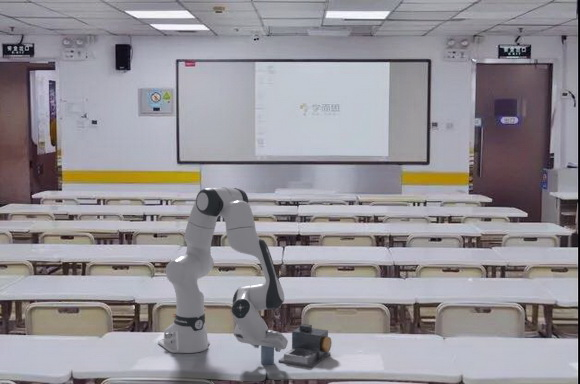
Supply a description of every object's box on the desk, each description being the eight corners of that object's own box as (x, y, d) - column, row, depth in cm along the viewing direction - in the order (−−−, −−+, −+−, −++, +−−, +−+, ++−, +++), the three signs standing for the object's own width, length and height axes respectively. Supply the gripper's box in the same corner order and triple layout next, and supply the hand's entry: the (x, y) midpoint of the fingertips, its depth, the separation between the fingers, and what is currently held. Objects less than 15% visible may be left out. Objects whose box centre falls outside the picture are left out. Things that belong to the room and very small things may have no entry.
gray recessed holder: (278, 362, 289) (278, 332, 287) (298, 349, 305) (299, 320, 303) (313, 368, 282) (314, 337, 281) (332, 354, 298) (333, 325, 297)
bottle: (258, 362, 288) (258, 332, 286) (268, 359, 291) (268, 329, 290) (266, 366, 284) (267, 335, 283) (276, 363, 287) (276, 332, 286)
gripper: (283, 326, 274) (294, 344, 284) (235, 319, 284) (248, 337, 293) (277, 341, 271) (289, 359, 281) (229, 333, 280) (242, 351, 290)
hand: (268, 348), depth 287 cm, fingers open, 8 cm apart
